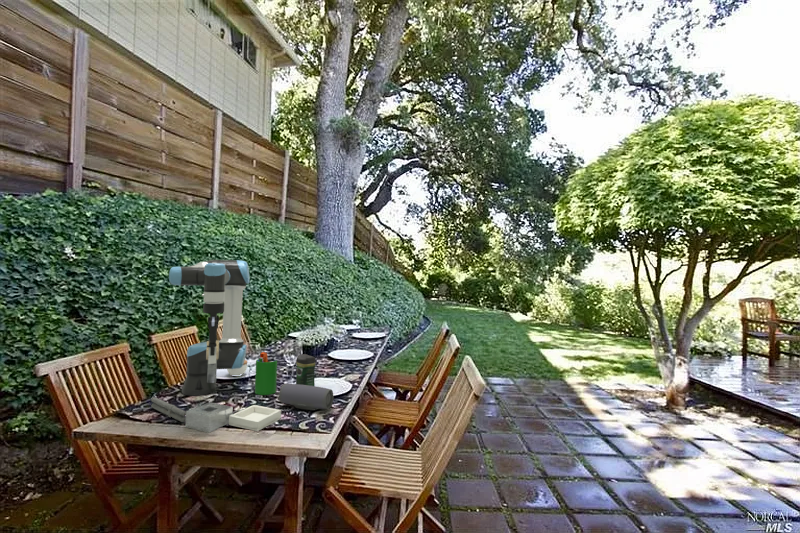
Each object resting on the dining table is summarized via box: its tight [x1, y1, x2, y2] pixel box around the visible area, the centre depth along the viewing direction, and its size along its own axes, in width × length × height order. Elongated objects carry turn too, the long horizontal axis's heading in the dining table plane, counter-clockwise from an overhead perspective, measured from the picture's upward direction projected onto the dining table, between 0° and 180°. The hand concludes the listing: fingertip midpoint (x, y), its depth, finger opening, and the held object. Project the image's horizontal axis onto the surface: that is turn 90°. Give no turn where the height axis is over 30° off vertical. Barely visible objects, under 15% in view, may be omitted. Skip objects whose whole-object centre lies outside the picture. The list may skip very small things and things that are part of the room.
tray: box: [228, 404, 282, 432], centre depth 165 cm, size 14×14×4 cm
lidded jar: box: [226, 359, 248, 376], centre depth 229 cm, size 11×11×9 cm
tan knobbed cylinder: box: [206, 339, 220, 383], centre depth 161 cm, size 4×4×16 cm
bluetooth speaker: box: [278, 383, 335, 411], centre depth 182 cm, size 23×9×10 cm, turn 74°
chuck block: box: [185, 401, 234, 433], centre depth 161 cm, size 12×12×6 cm
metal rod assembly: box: [150, 396, 187, 423], centre depth 169 cm, size 26×3×5 cm, turn 55°
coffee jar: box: [295, 353, 316, 386], centre depth 204 cm, size 10×8×19 cm
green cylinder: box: [254, 352, 278, 396], centre depth 202 cm, size 10×9×20 cm
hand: (212, 361), depth 161 cm, fingers closed on tan knobbed cylinder, 4 cm apart
